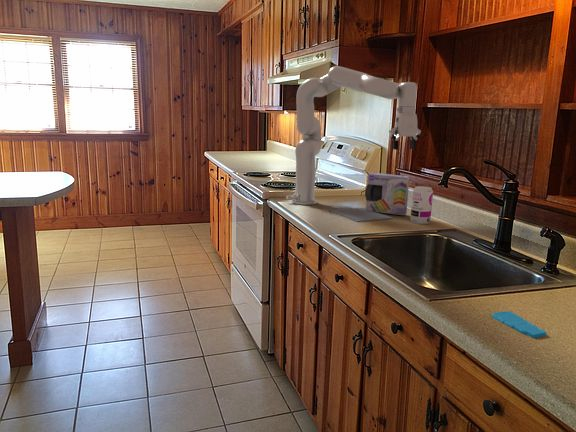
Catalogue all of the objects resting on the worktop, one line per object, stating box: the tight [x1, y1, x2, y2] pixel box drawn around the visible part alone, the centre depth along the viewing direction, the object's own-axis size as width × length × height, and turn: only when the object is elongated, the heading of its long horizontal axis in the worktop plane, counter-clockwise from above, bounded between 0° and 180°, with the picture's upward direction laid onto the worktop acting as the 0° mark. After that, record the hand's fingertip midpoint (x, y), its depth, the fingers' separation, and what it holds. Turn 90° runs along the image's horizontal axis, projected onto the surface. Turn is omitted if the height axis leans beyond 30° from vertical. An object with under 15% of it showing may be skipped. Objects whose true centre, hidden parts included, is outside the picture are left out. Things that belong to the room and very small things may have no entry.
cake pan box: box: [364, 172, 410, 216], centre depth 220 cm, size 19×5×18 cm, turn 62°
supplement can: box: [409, 185, 434, 225], centre depth 205 cm, size 8×8×15 cm
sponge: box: [491, 310, 547, 339], centre depth 109 cm, size 2×12×6 cm
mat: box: [330, 207, 394, 223], centre depth 216 cm, size 18×22×1 cm
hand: (404, 149), depth 220 cm, fingers open, 9 cm apart
